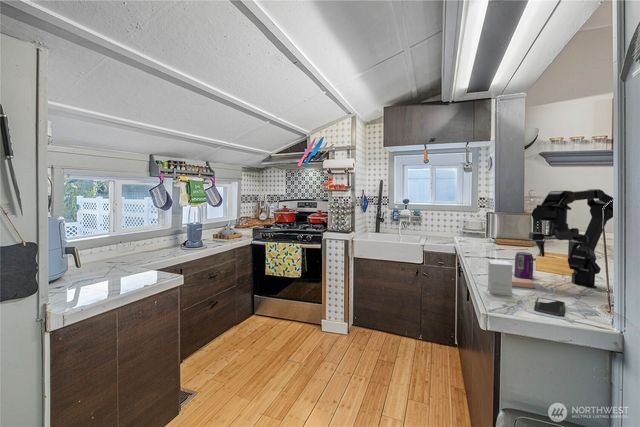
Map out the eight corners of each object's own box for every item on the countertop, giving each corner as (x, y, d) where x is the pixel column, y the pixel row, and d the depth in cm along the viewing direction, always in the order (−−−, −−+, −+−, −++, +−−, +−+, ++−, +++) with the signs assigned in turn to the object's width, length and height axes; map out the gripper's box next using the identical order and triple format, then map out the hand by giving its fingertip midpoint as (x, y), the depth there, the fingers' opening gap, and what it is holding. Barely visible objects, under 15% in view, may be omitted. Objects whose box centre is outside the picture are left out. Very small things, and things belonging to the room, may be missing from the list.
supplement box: (508, 291, 115) (509, 261, 114) (511, 297, 108) (512, 265, 108) (487, 289, 118) (488, 259, 118) (489, 294, 112) (490, 263, 111)
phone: (533, 308, 96) (537, 296, 107) (533, 311, 96) (537, 299, 107) (564, 315, 90) (565, 301, 101) (564, 318, 90) (565, 305, 101)
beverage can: (535, 280, 130) (536, 255, 129) (518, 279, 131) (519, 254, 131) (527, 276, 137) (528, 252, 136) (511, 275, 138) (512, 251, 137)
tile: (530, 279, 122) (503, 277, 126) (535, 283, 116) (507, 281, 120) (529, 284, 122) (503, 282, 126) (535, 288, 117) (506, 286, 120)
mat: (538, 284, 124) (539, 283, 124) (550, 293, 112) (550, 292, 112) (501, 281, 128) (502, 280, 128) (509, 289, 117) (509, 288, 117)
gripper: (538, 221, 114) (536, 259, 115) (597, 222, 108) (595, 263, 108) (528, 219, 125) (527, 254, 125) (581, 220, 118) (580, 257, 119)
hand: (556, 257), depth 119 cm, fingers open, 9 cm apart
